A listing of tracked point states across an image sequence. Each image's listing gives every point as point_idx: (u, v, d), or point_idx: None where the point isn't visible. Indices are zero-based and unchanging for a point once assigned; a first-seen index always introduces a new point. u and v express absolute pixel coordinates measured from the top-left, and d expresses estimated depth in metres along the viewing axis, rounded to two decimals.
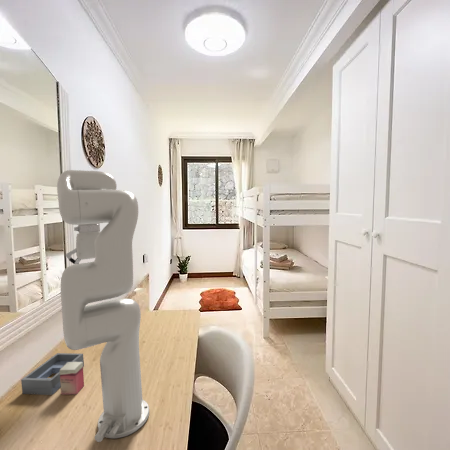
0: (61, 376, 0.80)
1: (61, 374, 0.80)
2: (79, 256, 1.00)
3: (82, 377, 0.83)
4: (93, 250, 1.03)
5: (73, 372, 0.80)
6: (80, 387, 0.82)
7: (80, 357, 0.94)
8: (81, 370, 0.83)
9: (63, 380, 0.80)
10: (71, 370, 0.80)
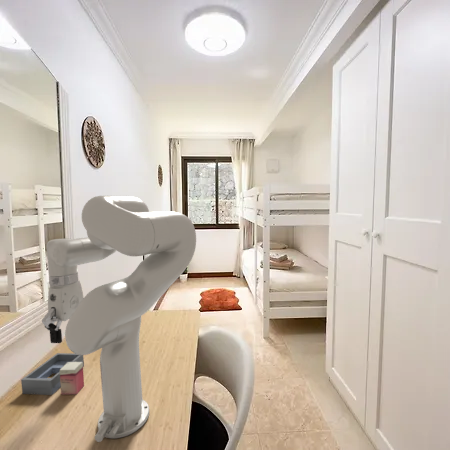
0: (61, 376, 0.80)
1: (61, 374, 0.80)
2: (64, 317, 0.76)
3: (82, 377, 0.83)
4: (75, 304, 0.81)
5: (73, 372, 0.80)
6: (80, 387, 0.82)
7: (80, 357, 0.94)
8: (81, 370, 0.83)
9: (62, 380, 0.80)
10: (71, 370, 0.80)
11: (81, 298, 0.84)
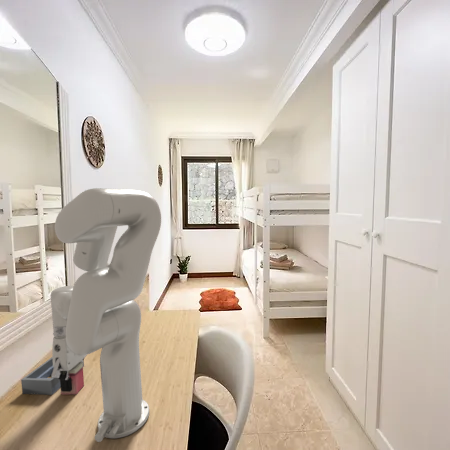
0: None
1: None
2: (68, 367, 0.77)
3: (82, 377, 0.83)
4: None
5: (73, 372, 0.80)
6: (80, 387, 0.82)
7: None
8: (80, 370, 0.83)
9: None
10: (71, 370, 0.80)
11: None
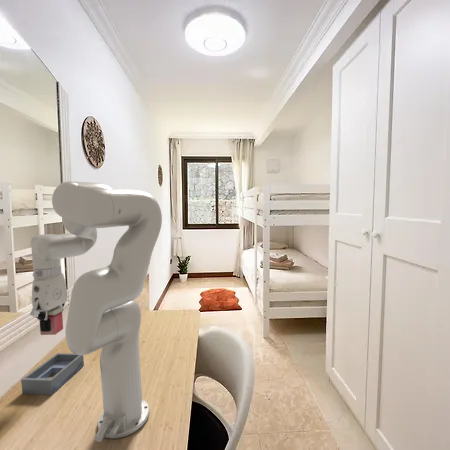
0: None
1: None
2: (47, 307, 0.82)
3: (61, 320, 0.88)
4: (58, 296, 0.87)
5: (51, 313, 0.85)
6: (59, 329, 0.87)
7: (80, 357, 0.94)
8: (60, 314, 0.87)
9: None
10: (50, 311, 0.85)
11: (64, 290, 0.89)
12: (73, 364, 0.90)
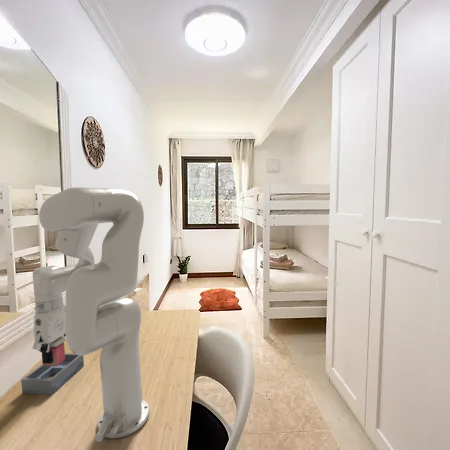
0: None
1: None
2: (49, 340, 0.83)
3: (63, 351, 0.89)
4: (60, 327, 0.88)
5: (53, 345, 0.85)
6: (61, 360, 0.88)
7: (80, 357, 0.94)
8: (61, 345, 0.88)
9: None
10: (52, 343, 0.85)
11: None
12: (73, 364, 0.90)
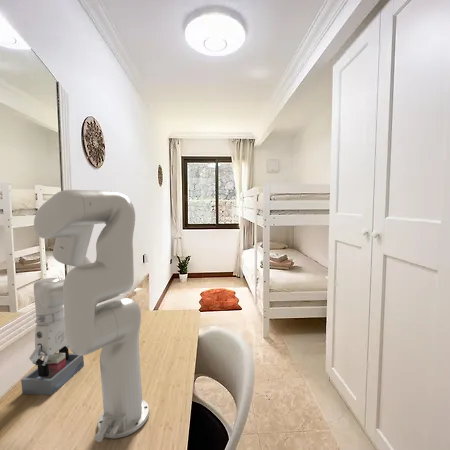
0: None
1: None
2: (50, 352, 0.83)
3: None
4: (61, 339, 0.88)
5: (55, 361, 0.86)
6: None
7: (80, 357, 0.94)
8: (63, 361, 0.89)
9: None
10: (53, 360, 0.86)
11: None
12: (73, 364, 0.90)
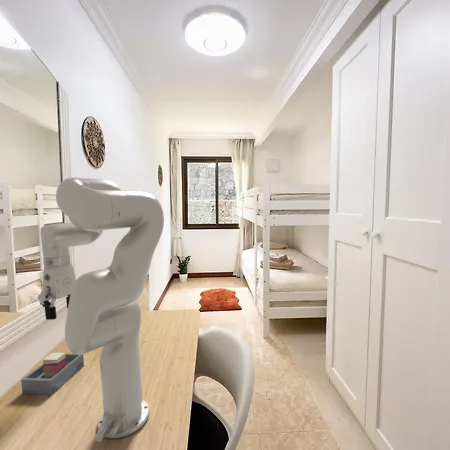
0: (44, 365, 0.86)
1: (44, 363, 0.86)
2: (58, 295, 0.83)
3: None
4: (68, 285, 0.88)
5: (55, 361, 0.86)
6: None
7: (80, 357, 0.94)
8: (63, 361, 0.89)
9: (46, 369, 0.86)
10: (53, 360, 0.86)
11: (73, 280, 0.91)
12: (73, 364, 0.90)
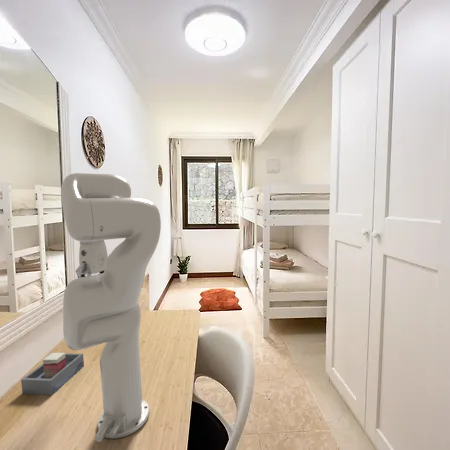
0: (44, 365, 0.86)
1: (44, 363, 0.86)
2: (93, 270, 0.87)
3: None
4: (102, 261, 0.92)
5: (55, 361, 0.86)
6: None
7: (80, 357, 0.94)
8: (63, 361, 0.89)
9: (46, 369, 0.86)
10: (53, 360, 0.86)
11: (106, 257, 0.95)
12: (73, 364, 0.90)
